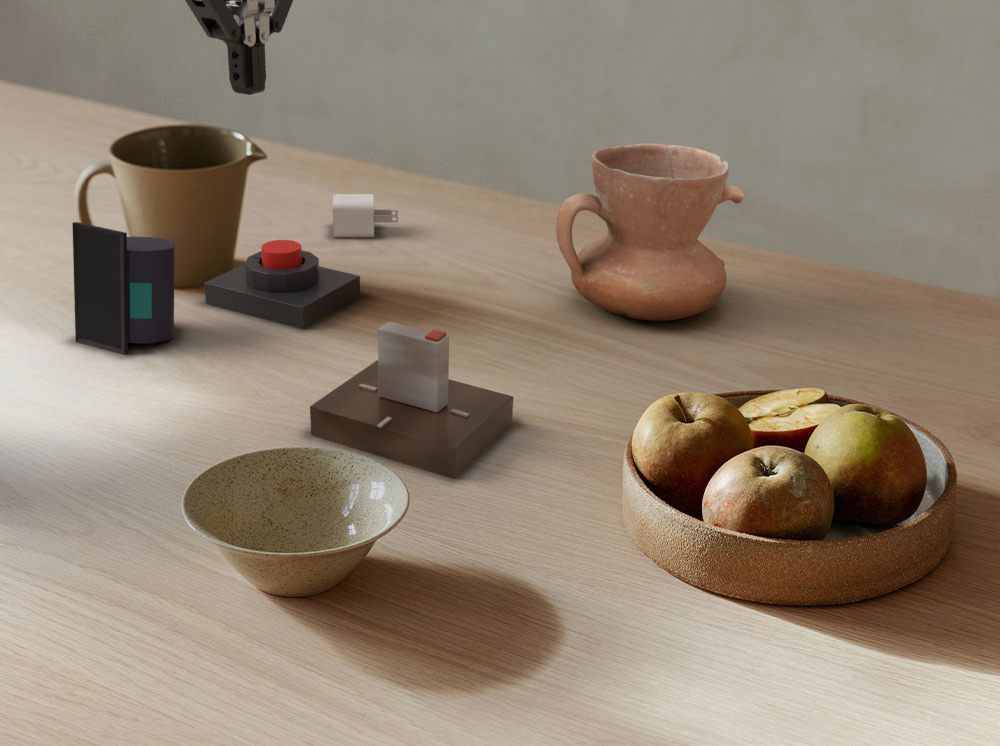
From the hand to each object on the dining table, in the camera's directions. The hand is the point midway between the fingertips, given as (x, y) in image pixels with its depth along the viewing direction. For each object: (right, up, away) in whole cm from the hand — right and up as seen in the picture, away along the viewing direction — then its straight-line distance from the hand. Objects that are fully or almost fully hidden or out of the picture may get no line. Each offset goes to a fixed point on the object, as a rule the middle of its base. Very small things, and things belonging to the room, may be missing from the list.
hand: (248, 92), depth 88 cm
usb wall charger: (+5, -7, +33) cm, 34 cm away
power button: (0, -12, +13) cm, 18 cm away
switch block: (0, -16, +15) cm, 22 cm away
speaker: (-11, -19, +7) cm, 24 cm away
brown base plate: (+14, -27, -6) cm, 31 cm away
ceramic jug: (+34, -16, +17) cm, 41 cm away
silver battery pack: (+14, -24, -7) cm, 29 cm away
